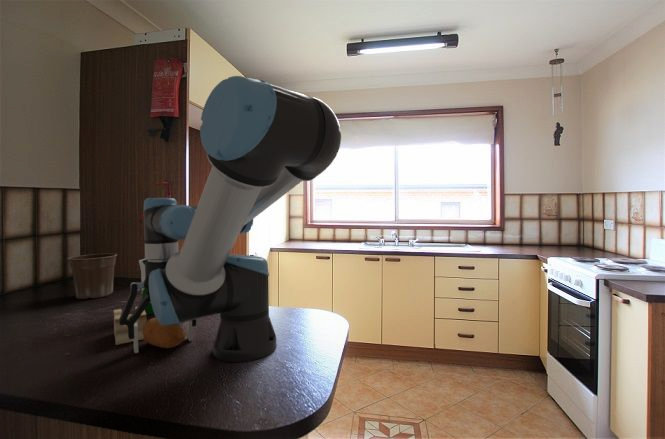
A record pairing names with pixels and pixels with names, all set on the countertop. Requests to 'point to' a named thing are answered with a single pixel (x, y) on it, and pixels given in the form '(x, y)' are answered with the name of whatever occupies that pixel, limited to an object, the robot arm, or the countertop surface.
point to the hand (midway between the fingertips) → (164, 344)
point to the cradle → (122, 330)
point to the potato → (162, 334)
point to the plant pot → (93, 275)
